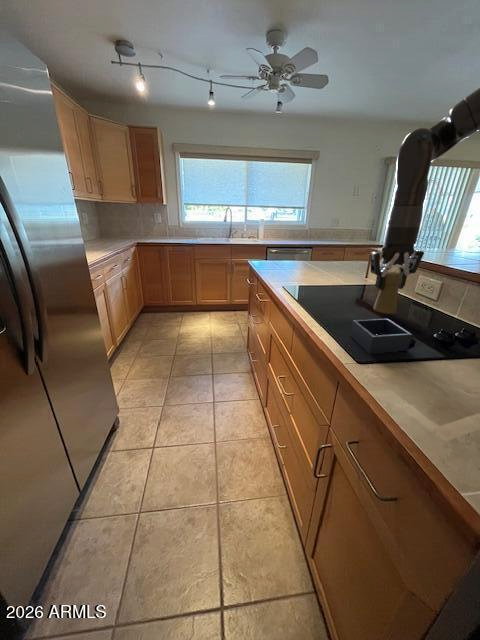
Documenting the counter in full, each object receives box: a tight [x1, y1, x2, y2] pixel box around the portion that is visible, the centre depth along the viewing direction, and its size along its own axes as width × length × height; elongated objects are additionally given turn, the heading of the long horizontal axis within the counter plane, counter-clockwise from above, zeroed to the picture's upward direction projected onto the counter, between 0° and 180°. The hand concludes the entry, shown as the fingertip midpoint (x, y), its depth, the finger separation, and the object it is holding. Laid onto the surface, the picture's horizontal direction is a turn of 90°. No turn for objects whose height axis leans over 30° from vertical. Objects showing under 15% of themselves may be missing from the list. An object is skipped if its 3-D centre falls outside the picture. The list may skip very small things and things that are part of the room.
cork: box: [372, 271, 402, 315], centre depth 74 cm, size 6×6×11 cm
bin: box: [349, 317, 413, 355], centre depth 79 cm, size 12×12×6 cm
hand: (389, 288), depth 73 cm, fingers closed on cork, 5 cm apart
